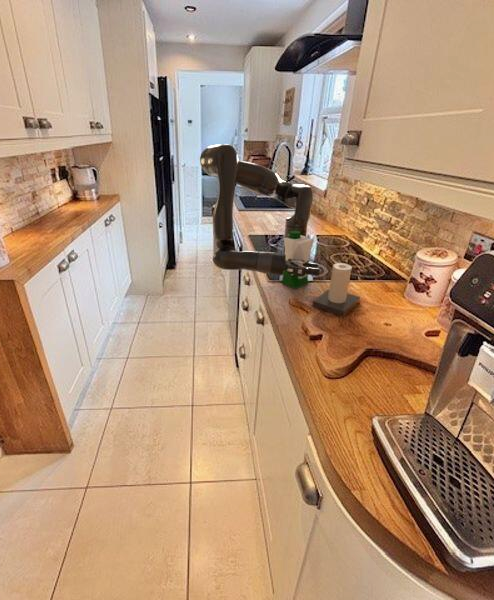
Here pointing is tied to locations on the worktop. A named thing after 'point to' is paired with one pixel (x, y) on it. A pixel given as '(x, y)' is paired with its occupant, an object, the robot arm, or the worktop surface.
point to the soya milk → (296, 256)
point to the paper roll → (339, 282)
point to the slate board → (336, 304)
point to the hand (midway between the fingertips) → (318, 269)
